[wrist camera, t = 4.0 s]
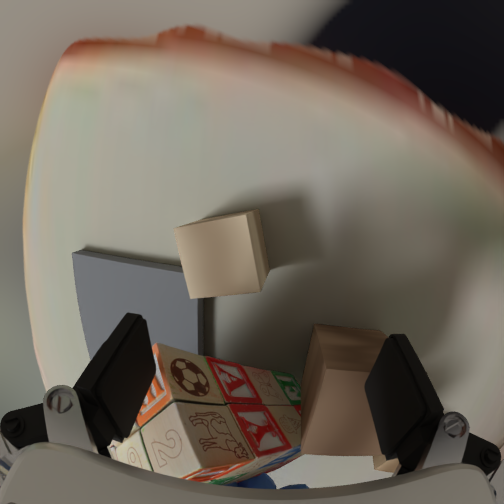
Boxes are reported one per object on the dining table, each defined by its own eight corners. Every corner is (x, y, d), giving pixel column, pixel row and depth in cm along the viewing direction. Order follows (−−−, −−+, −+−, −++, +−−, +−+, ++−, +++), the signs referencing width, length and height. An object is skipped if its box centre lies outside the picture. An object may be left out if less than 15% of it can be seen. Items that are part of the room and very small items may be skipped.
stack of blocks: (174, 510, 18) (69, 513, 9) (156, 466, 22) (55, 458, 14) (337, 433, 15) (199, 470, 6) (292, 370, 19) (152, 337, 11)
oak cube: (422, 423, 18) (432, 451, 15) (395, 446, 20) (401, 473, 16) (398, 415, 19) (407, 446, 15) (370, 439, 20) (374, 469, 16)
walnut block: (380, 330, 17) (427, 373, 9) (363, 390, 17) (392, 454, 9) (314, 323, 18) (326, 368, 10) (300, 385, 18) (300, 453, 10)
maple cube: (258, 208, 17) (246, 214, 13) (269, 269, 18) (260, 291, 14) (200, 219, 18) (173, 228, 14) (212, 276, 19) (190, 298, 15)
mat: (204, 270, 18) (197, 275, 17) (204, 397, 21) (200, 405, 20) (81, 249, 20) (72, 252, 19) (99, 361, 23) (92, 367, 22)
